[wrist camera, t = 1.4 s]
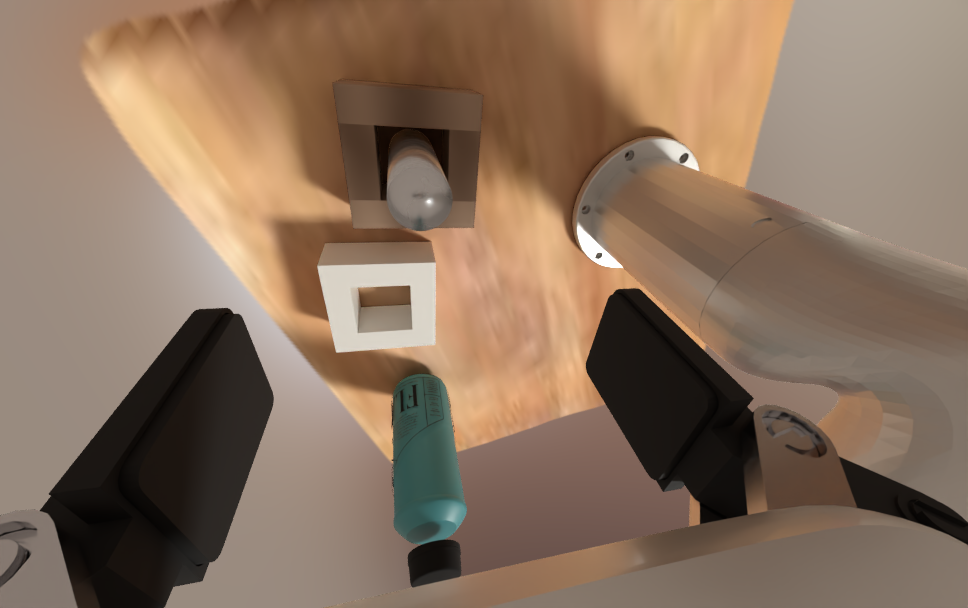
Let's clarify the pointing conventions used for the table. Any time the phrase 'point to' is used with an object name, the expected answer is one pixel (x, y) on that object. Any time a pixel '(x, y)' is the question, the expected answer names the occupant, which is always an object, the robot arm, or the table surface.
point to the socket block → (407, 108)
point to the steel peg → (416, 182)
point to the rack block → (377, 268)
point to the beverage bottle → (426, 478)
